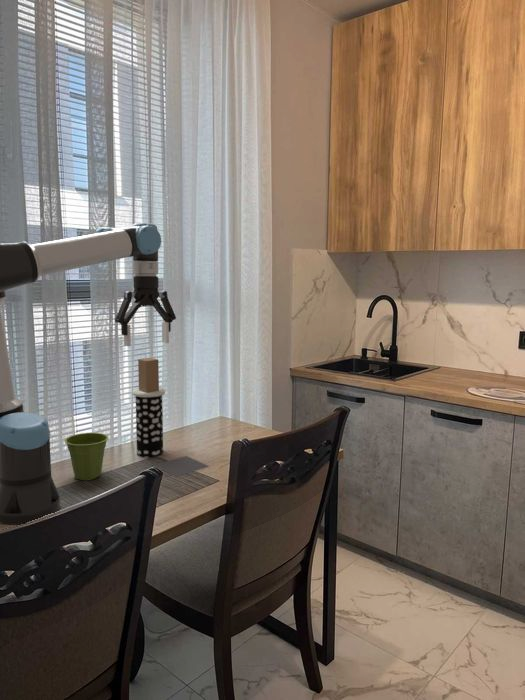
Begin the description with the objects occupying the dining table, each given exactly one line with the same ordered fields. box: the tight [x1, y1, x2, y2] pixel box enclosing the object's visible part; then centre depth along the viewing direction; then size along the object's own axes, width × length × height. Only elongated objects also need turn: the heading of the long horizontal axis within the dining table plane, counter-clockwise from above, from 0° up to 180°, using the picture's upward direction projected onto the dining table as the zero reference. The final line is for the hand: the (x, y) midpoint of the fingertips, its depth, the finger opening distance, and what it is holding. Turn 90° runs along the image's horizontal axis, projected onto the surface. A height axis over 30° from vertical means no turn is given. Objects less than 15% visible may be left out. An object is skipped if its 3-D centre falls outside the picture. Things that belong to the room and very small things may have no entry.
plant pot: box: [64, 432, 109, 481], centre depth 152 cm, size 12×12×11 cm
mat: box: [153, 455, 210, 478], centre depth 161 cm, size 12×12×1 cm
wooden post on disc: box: [132, 357, 166, 398], centre depth 168 cm, size 10×10×11 cm
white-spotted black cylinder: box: [135, 395, 164, 458], centre depth 170 cm, size 8×8×20 cm
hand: (146, 344), depth 166 cm, fingers open, 13 cm apart
